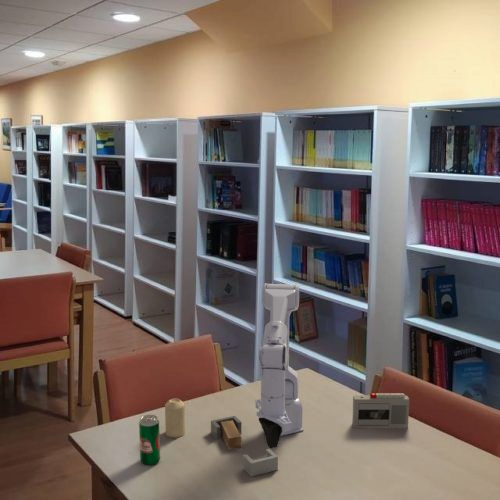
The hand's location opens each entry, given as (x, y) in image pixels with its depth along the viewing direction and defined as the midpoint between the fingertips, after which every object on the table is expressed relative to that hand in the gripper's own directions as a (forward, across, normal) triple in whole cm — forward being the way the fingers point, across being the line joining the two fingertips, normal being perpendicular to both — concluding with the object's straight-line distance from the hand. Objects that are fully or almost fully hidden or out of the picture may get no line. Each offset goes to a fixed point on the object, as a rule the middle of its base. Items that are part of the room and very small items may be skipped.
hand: (272, 446), depth 145 cm
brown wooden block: (+9, -24, 0) cm, 25 cm away
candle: (+9, -34, -13) cm, 38 cm away
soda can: (+9, -22, -24) cm, 34 cm away
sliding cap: (+9, -6, 0) cm, 11 cm away
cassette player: (+9, -12, +42) cm, 45 cm away
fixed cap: (+9, -28, 0) cm, 29 cm away
